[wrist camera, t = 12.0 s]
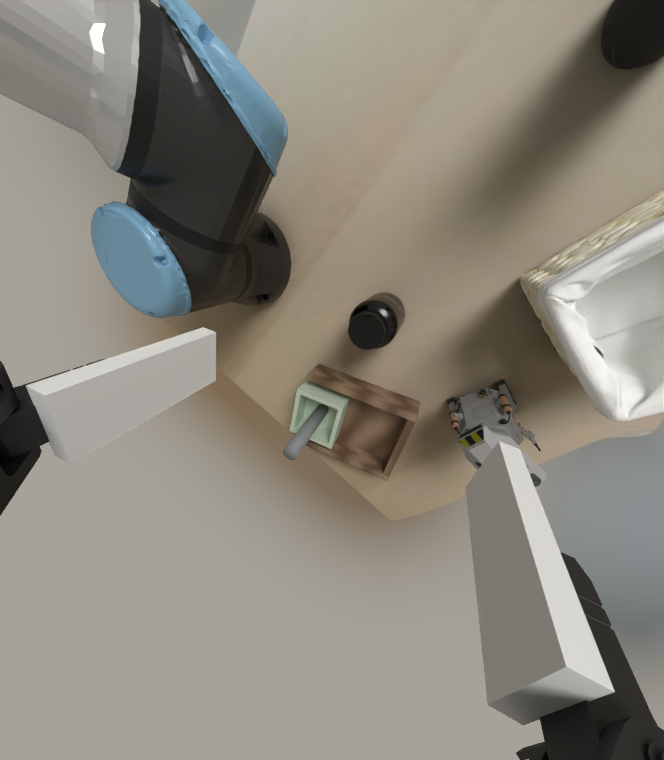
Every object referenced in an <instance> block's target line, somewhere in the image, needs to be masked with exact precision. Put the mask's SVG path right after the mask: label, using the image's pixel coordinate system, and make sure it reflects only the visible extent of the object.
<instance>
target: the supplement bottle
mask: <svg viewBox="0 0 664 760" xmlns="http://www.w3.org/2000/svg"><path fill="white" fill-rule="evenodd" d="M404 317H405V310H404V306H403V304H402V302H401V301H400V299H399V298H398V297H396V296H395V295H393V294H390V293H378V294H375V295H373V296H372V297H370V298H368V299H367V300H365V301H363V302H362V303H360V304H359V305H358V306H357V307H356V308H355V309H354V310H353V312H352V313H351V316H350V320H349V327H348V329H349V330H348V332H349V336H350V339H351V341H352V342H353V344H355V345H356V346H357V347H359V348H361V349H365V350H367V349H369V350H370V349H377V348H381V347H384V346H386V345H387V344H389V343H390V342H391V341H392V340H393V338H394V337H395V335H396V334H397V332H398V330H399V329H400V327H401V325H402V323H403V321H404Z"/></svg>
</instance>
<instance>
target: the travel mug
mask: <svg viewBox="0 0 664 760" xmlns="http://www.w3.org/2000/svg"><path fill="white" fill-rule="evenodd" d="M601 44H602V51H603V54H604V56H605V58H606V59H607V61H608V62H609V63H610V64H611V65H613V66H615V67H618V68H622V69H632V68H637V67H641V66H644V65H646V64H649V63H651V62H653V61H655V60H657V59H658V58H660V57H661V56H663V55H664V0H615V1H614V3H613V5H612V6H611V8H610V11H609V13H608V15H607V18H606V20H605V23H604V27H603V31H602V39H601Z"/></svg>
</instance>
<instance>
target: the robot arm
mask: <svg viewBox="0 0 664 760" xmlns="http://www.w3.org/2000/svg"><path fill="white" fill-rule="evenodd" d="M158 2H159V5H160V8H159V7H158V6H156V5H155V4H154V3H153V2H151V1H150V0H0V94H2V95H4V96H6V97H8V98H10V99H12V100H14V101H16V102H18V103H20V104H22V105H24V106H26V107H28V108H30V109H32V110H35V111H36V112H38V113H40V114H43V115H45V116H47V117H49V118H51V119H53V120H55V121H57V122H59V123H61V124H63V125H65V126H67V127H69V128H71V129H73V130H75V131H77V132H79V133H81V134H83V135H84V136H85V137H86V138H87V139H89V140H90V141H91V143H92V144H93V146H94V147H95V148H96V150H97V151H98V153H99V154H100V155H101V157H102V158H103V160H104V161H105V163H106V164H107V165H108V167H109V168H110V169H112V170H114V171H116V172H118V173H121V174H123V175H125V176H127V177H129V178H131V181H130V186H129V192H128V198H127V202H126V204H124V203H121V202H111V203H109V204H104V206H103V207H99V208H97V210H96V211H95V213H94V215H93V218H92V222H91V235H92V242H93V246H94V249H95V252H96V255H97V258H98V261H99V263H100V265H101V267H102V269H103V271H104V272H105V274H106V276H107V278H108V280H109V281H110V283H111V284H112V286H113V287H114V288H115V290H116V291H117V292H118V293H119V294H120V296H121V297H122V298H123V299H124V300H125V301H126V302H128V303H129V304H130V305H131V306H132V307H134V308H135V309H137V310H138V311H140V312H142V313H144V314H146V315H149V316H152V317H159V318H161V317H169V316H175V315H179V316H183V315H186V314H187V313H190V312H194V311H198V310H201V309H205V308H209V307H213V306H216V305H220V304H224V303H227V302H231V301H232V302H236V303H241V304H245V305H252V306H255V305H262V304H265V303H268V302H271V301H273V300H275V299H276V298H277V297H278V296H279V295H280V294H281V293H282V292H283V291H284V289H285V287H286V285H287V283H288V280H289V276H290V270H291V259H290V252H289V248H288V245H287V242H286V240H285V237H284V235H283V234H282V232H281V230H280V229H279V228H278V226H277V225H276V224H275V223H274V222H273V221H272V220H271V219H270V218H268V217H267V216H266V215H264V214H262V213H260V212H258V209H259V207H260V205H261V203H262V200H263V198H264V196H265V194H266V192H267V189H268V187H269V185H270V183H271V181H272V178H273V176H274V177H275V176H276V173H277V171H276V168H277V166H278V163H279V160H280V158H281V155H282V153H283V150H284V148H285V145H286V142H287V138H288V128H287V124H286V120H285V118H284V116H283V114H282V112H281V111H280V109H279V108H278V107H277V105H276V104H275V103H274V102H273V100H272V99H271V98H270V97H269V95H268V94H267V93H266V92H265V91H264V89H263V88H262V87H261V86H260V85H259V83H258V82H257V81H256V80H255V79H254V78H253V76H252V75H251V74H250V73H249V72H248V70H247V69H246V68H245V67H244V66H243V65H242V64H241V62H240V61H239V60H238V59H237V58H236V57H235V56H234V55H233V54H232V52H231V51H230V50H229V49H228V48H227V47H226V46H225V44H224V43H223V42H222V41H221V40H220V39H219V38H218V37H217V36H216V35H214V33H213V32H212V30H211V29H210V28H209V27H208V26H207V25H206V24H205V23H204V22H203V20H202V19H201V18H200V17H199V16H198V15H197V13H196V12H195V11H194V10H193V9H192V8H191V7H190V5H189V4H188V3H187V2H186V1H185V0H158ZM214 381H216V332H214V331H211V330H209V329H206V328H204V327H202V328H199V329H196V330H193V331H190V332H187V333H184V334H181V335H178V336H175V337H173V338H169V339H166V340H163V341H160V342H157V343H154V344H151V345H148V346H145V347H142V348H139V349H135V350H133V351H129V352H126V353H123V354H121V355H117V356H114V357H112V358H108V359H102V360H99V361H96V362H93V363H89V364H86V366H80V367H77V368H74V369H73V370H72V371H70V370H68V371H65V372H62V373H59V374H55V375H52V376H49V377H46V378H44V379H41V380H37V381H34V382H31V383H28V384H25V385H22V386H18V387H15V388H13V386H12V384H11V381H10V379H9V377H8V374H7V372H6V370H5V368H4V365H3V364H2V362H1V361H0V515H1V514H2V512H3V511H4V509H5V507H6V506H7V505H8V503H9V502H10V500H11V499H12V497H13V496H14V494H15V493H16V491H17V490H18V488H19V487H20V485H21V484H22V482H23V481H24V479H25V478H26V476H27V475H28V473H29V472H30V470H31V469H32V467H33V466H34V464H35V463H36V461H37V460H38V458H39V457H40V454H41V449H40V446H41V445H43V444H45V443H47V442H49V443H50V445H51V448H52V450H53V452H54V455H55V456H57V457H59V458H61V459H62V460H64V461H66V462H68V463H69V464H73V463H75V462H77V461H78V460H80V459H82V458H84V457H85V456H87V455H89V454H90V453H92V452H94V451H96V450H97V449H99V448H101V447H102V446H104V445H106V444H108V443H109V442H111V441H113V440H114V439H116V438H118V437H120V436H121V435H123V434H124V433H126V432H128V431H130V430H132V429H133V428H135V427H137V426H138V425H140V424H142V423H144V422H145V421H147V420H149V419H150V418H152V417H154V416H156V415H157V414H159V413H161V412H162V411H164V410H166V409H168V408H169V407H171V406H173V405H175V404H176V403H178V402H179V401H181V400H183V399H185V398H186V397H188V396H190V395H192V394H193V393H195V392H197V391H199V390H200V389H202V388H204V387H205V386H207V385H209V384H210V383H212V382H214ZM466 495H467V505H468V515H469V525H470V535H471V544H472V554H473V564H474V573H475V584H476V594H477V603H478V613H479V623H480V633H481V643H482V653H483V662H484V672H485V682H486V692H487V702H488V705H489V706H491V707H493V708H494V709H496V710H498V711H500V712H502V713H503V714H505V715H507V716H508V717H510V718H512V719H513V720H515V721H517V722H519V723H520V724H522V725H525V724H528V723H530V722H534V721H536V720H539V719H540V721H541V726H542V730H543V735H544V740H545V742H542V743H538V744H535V745H532V746H528V747H525V748H522V749H521V750H520V751H518V752H517V753H516V754H517V755H518V757H519V759H520V760H525V759H529V760H664V730H663V729H661V728H659V727H658V726H657V724H656V722H655V720H654V718H653V716H652V714H651V712H650V710H649V708H648V705H647V703H646V701H645V699H644V697H643V694H642V692H641V690H640V688H639V685H638V683H637V681H636V679H635V677H634V674H633V672H632V670H631V668H630V666H629V663H628V661H627V659H626V657H625V655H624V652H623V650H622V648H621V646H620V644H619V641H618V639H617V637H616V635H615V632H614V630H612V629H611V628H610V627H611V623H610V621H609V619H608V617H607V615H606V612H605V610H604V609H602V607H601V606H602V604H601V601H600V599H599V597H598V595H597V592H596V590H595V588H594V586H593V584H592V582H591V580H590V579H589V577H588V576H587V575H586V573H585V572H584V570H583V569H582V568H581V566H580V565H579V564H578V562H577V561H576V560H575V558H573V557H570V556H568V555H566V554H564V553H561V552H560V551H559V548H558V545H557V543H556V540H555V538H554V535H553V533H552V530H551V527H550V525H549V523H548V520H547V517H546V515H545V512H544V510H543V507H542V504H541V502H540V499H539V497H538V494H537V492H536V489H535V487H534V484H533V481H532V479H531V476H530V474H529V471H528V469H527V466H526V464H525V461H524V459H523V456H522V453H521V451H520V449H518V448H516V447H513V446H510V445H508V444H505V443H503V442H500V441H499V442H498V443H497V444H496V446H495V447H494V449H493V450H492V451H491V453H490V454H489V455H488V457H487V458H486V460H485V461H484V462H483V464H482V465H481V467H480V468H479V469H478V471H477V472H476V474H475V475H474V476H473V478H472V479H471V480H470V482H469V483H468V485H467V486H466Z"/></svg>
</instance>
